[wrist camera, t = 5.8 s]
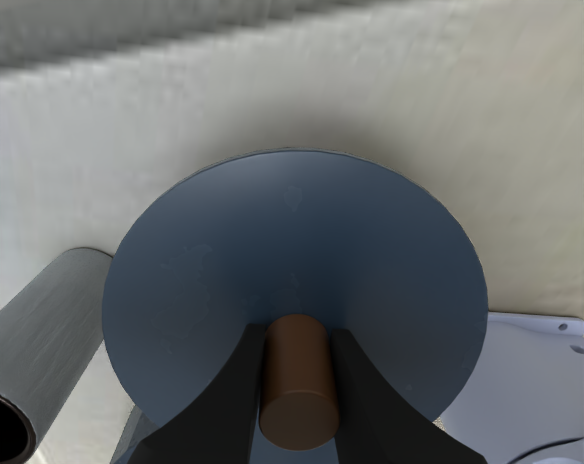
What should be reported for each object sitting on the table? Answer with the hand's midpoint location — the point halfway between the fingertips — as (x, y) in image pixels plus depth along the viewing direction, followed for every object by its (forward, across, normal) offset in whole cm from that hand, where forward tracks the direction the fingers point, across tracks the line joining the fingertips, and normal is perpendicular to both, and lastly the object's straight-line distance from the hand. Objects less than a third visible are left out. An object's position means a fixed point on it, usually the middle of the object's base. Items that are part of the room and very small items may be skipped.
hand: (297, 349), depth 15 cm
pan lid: (+1, 0, 0) cm, 1 cm away
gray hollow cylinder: (+9, +11, +3) cm, 15 cm away
